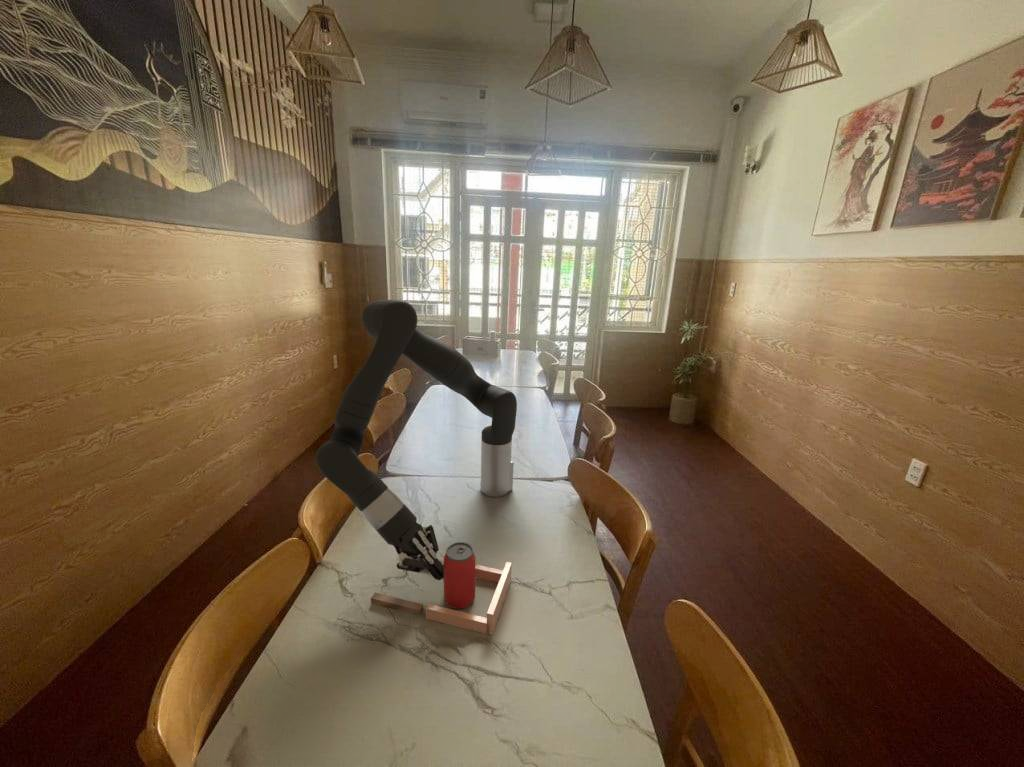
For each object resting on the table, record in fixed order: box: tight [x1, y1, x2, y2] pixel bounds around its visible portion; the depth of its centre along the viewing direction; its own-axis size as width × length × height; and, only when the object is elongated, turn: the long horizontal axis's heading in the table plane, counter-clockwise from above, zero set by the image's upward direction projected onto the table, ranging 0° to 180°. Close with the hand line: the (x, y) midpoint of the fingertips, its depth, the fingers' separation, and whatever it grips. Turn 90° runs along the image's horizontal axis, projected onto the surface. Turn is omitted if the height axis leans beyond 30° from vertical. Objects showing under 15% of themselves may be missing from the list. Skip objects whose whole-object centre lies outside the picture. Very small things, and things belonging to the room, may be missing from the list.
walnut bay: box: [370, 559, 444, 617], centre depth 90 cm, size 11×14×2 cm
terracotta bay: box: [425, 561, 513, 636], centre depth 86 cm, size 14×14×5 cm
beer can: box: [443, 541, 477, 610], centre depth 85 cm, size 7×7×12 cm
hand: (443, 576), depth 87 cm, fingers closed
